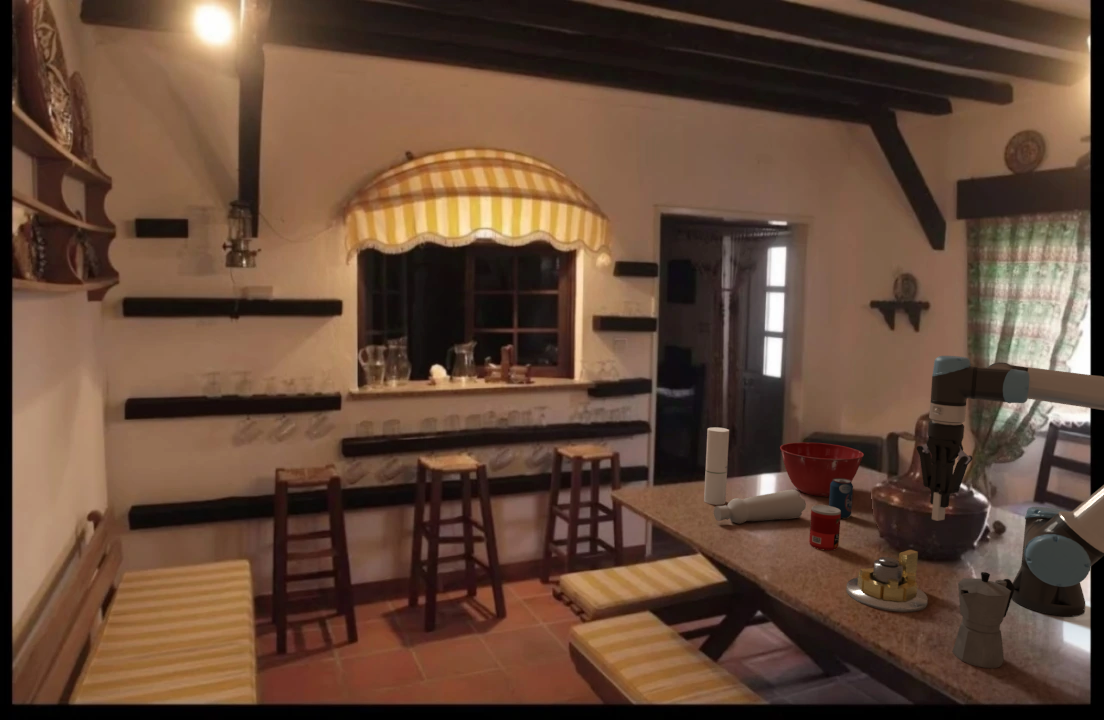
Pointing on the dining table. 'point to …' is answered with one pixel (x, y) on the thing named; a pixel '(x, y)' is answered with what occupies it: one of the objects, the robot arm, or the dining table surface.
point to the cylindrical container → (716, 466)
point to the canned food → (825, 527)
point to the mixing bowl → (819, 465)
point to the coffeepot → (982, 620)
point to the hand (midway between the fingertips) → (938, 519)
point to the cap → (881, 573)
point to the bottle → (762, 507)
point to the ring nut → (892, 580)
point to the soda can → (841, 496)
